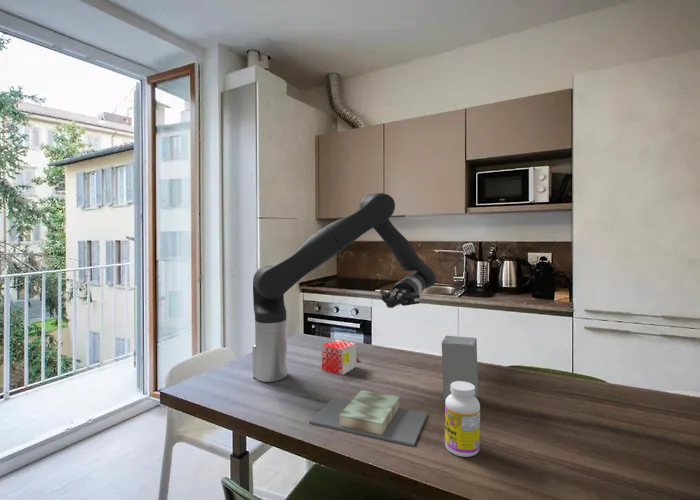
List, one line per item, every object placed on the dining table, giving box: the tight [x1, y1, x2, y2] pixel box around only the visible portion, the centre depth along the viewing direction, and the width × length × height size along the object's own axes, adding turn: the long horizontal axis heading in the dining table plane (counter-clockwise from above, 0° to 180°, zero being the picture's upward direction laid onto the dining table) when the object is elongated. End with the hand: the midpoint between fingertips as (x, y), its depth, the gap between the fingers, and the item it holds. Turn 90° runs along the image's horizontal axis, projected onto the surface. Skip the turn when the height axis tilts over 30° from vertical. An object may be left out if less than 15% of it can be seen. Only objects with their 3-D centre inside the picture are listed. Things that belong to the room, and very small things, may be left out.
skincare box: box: [441, 335, 479, 401], centre depth 97 cm, size 8×7×16 cm
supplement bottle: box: [444, 381, 481, 458], centre depth 74 cm, size 7×7×13 cm
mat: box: [308, 395, 429, 447], centre depth 86 cm, size 24×14×1 cm, turn 67°
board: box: [339, 389, 401, 435], centre depth 87 cm, size 10×2×14 cm
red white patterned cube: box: [321, 339, 357, 376], centre depth 119 cm, size 8×8×8 cm
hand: (389, 304), depth 104 cm, fingers closed
